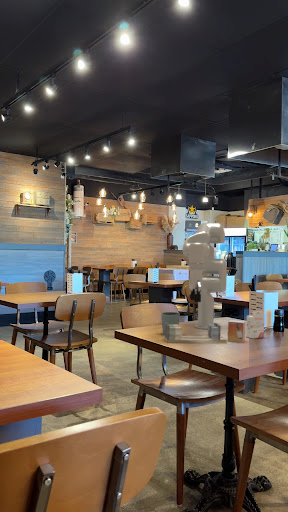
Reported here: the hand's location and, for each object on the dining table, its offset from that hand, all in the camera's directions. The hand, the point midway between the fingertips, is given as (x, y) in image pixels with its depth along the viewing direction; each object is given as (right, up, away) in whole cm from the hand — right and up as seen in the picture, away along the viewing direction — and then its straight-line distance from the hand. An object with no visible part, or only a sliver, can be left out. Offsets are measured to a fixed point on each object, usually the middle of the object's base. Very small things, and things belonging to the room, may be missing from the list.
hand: (195, 300), depth 216 cm
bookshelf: (0, -21, +1) cm, 21 cm away
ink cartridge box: (+34, -22, +15) cm, 43 cm away
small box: (+22, -22, +4) cm, 31 cm away
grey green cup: (-12, -21, +17) cm, 29 cm away
